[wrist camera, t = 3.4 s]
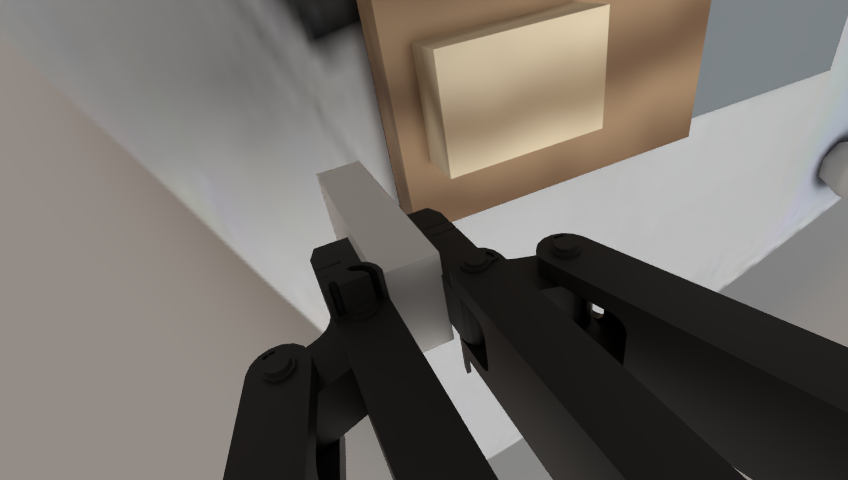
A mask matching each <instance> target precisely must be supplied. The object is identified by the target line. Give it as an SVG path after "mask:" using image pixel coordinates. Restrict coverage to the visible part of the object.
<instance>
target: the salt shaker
mask: <svg viewBox="0 0 848 480" xmlns="http://www.w3.org/2000/svg"><path fill="white" fill-rule="evenodd" d="M818 176H819V177H820V178H821V179H822V180H823V181H824V182H825V183H826V184H827V185H828V186H829V187H830V188H831V190H832V191H833V192H834V193H835V194H836V195H838V196H840V197H842V198H847V199H848V141H846V142H840V143H837V144H836V145H835V147H834V148H833V149H832V150H831V151H830V152H829V153H828V154H827V155H826V157H825V158H824V159H823V162H822V165H821V168H820V171H819V174H818Z"/></svg>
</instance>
